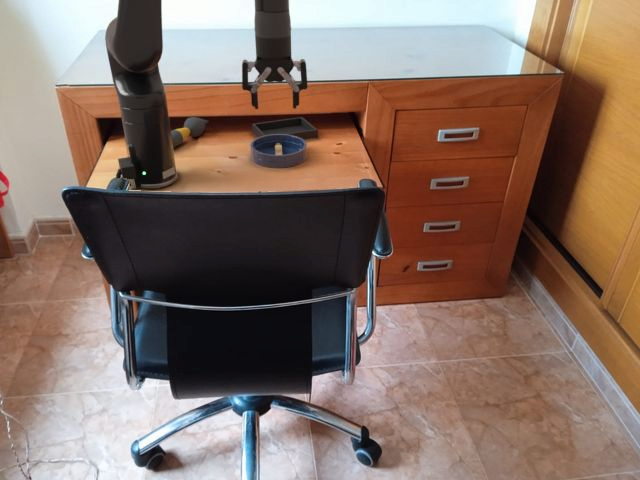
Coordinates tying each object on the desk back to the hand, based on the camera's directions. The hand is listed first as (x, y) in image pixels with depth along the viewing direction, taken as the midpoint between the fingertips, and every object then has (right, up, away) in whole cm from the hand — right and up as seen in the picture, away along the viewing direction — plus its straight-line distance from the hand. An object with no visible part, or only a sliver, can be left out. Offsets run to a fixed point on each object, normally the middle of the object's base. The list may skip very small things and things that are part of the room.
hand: (275, 107), depth 121 cm
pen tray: (+1, -3, +19) cm, 19 cm away
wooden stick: (0, -10, +7) cm, 12 cm away
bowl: (0, -10, +7) cm, 12 cm away
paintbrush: (-24, -6, +13) cm, 28 cm away
